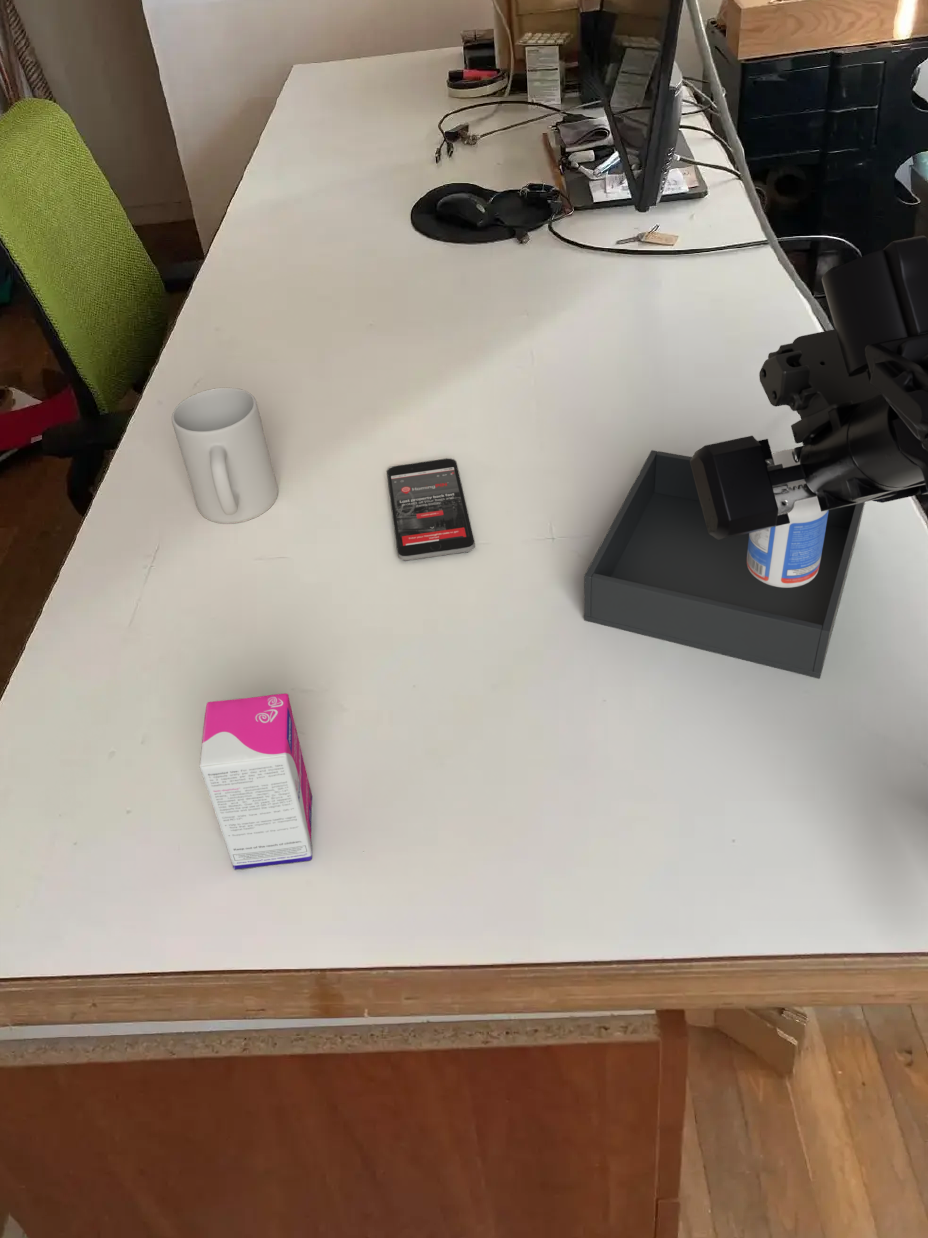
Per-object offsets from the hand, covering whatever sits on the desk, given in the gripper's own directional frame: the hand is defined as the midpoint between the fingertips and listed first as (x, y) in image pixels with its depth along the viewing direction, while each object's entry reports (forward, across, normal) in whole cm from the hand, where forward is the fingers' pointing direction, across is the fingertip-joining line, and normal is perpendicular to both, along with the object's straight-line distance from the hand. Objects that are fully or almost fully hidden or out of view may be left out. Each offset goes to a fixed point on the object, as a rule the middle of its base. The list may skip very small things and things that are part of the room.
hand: (782, 489), depth 77 cm
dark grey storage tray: (+14, +1, +5) cm, 14 cm away
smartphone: (+26, +24, -8) cm, 36 cm away
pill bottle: (+4, 0, +6) cm, 7 cm away
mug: (+31, +42, -13) cm, 54 cm away
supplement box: (+3, +42, +16) cm, 45 cm away
